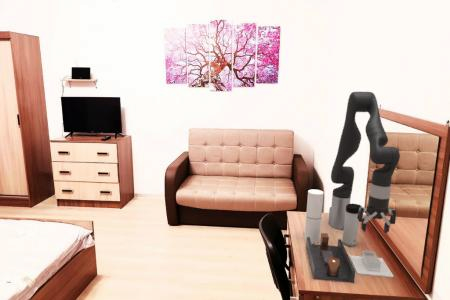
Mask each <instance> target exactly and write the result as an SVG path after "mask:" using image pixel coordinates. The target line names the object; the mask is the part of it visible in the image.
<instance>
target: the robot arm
mask: <svg viewBox="0 0 450 300" xmlns="http://www.w3.org/2000/svg"><path fill="white" fill-rule="evenodd" d="M346 106H347V107H346V112H345V119H344V123H343V127H342V132H341V136H340V139H339V143H338V144H339V145H338V148H337V154H336V157H335V159H334V163H333V165H332V167H331V168H332V169H331V173H330V179H331V182H332V183H333V184H338V185H339V184H340V185H341V186H338V187H336V188H333V190H332V196H331V204H330V205H331V206H330V207H329V211H328V220H327V221H328V222H327V223H328V225H329V226H330V227H331V228H334V229H338V230H344V220H345V212H346V205H347V204H351V198H352V197H351V196H352V193H353V185H354V179H355V171H354V170H355V169H354V168H353V167H352V166H344V164H346V162H347V161H348V160H349V159H350V158H352V156H354V155H355V154H356V152H358V150H359V147H360V144H361V141H362V133H361V131H360V129H359V127H358V125H357V122H356V115H357V113H368V114H369V118H368V120H367V123H366V126H365V134H366V137H367V140H368V142H369V158H370V161H371V162H372V163H373V164H375V165H383V166H382V167H380V168H375V169H373V171H372V175H371V183H370V187H369V193H368V202H367V206H366V207H363V206H362V205H361V206H360V207H359V211H358V217H357V219H358V220H359V223H361V226H360V228H361V230H362V232H364V233H365V232H366V230H367V223H368V222H369V221H371V220H372V219H373V220H382V219H383V221H384V224H383V225H384V226H383V233H384V234H388V233H389V232H390V227H391V225H395V224H396V221H397V220H396V219H397V211H396V210H395V208H393V207H392V208H389V204H390V197H391V187H392V186H391V184H392V179H393V178H392V177H393V175H394V173H395V170H396V168H397V166H398V164H399V162H400V159H401V158H400V157H401V153H400V150H399V149H398V148H397V147H395V146H386V145H387V144H388V142H389V138H388V136H387V132H386V131H385V128H384V126H383V123H382V120H381V119H382V118H381V114H380V110H379V105H378V101H377V96H376V95H375V93H373V92H371V91H353V92H351V93H350V95H349V97H348V100H347V105H346ZM366 212H367V213H366ZM365 213H366V214H365ZM364 214H365V215H364ZM388 214H389V215H390V216H389V219H388V218H387V215H388Z"/></svg>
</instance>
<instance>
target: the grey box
mask: <svg viewBox="0 0 450 300" xmlns="http://www.w3.org/2000/svg"><path fill="white" fill-rule="evenodd" d="M378 258H379V257H378V255H377V253H376V252H375V251H373V250H367V249H365V250H362V251H361V260H362V262H363V264H364V266H365V267H366V269H367V271H377V272H380V267H381V262H380V260H379V259H378Z"/></svg>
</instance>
